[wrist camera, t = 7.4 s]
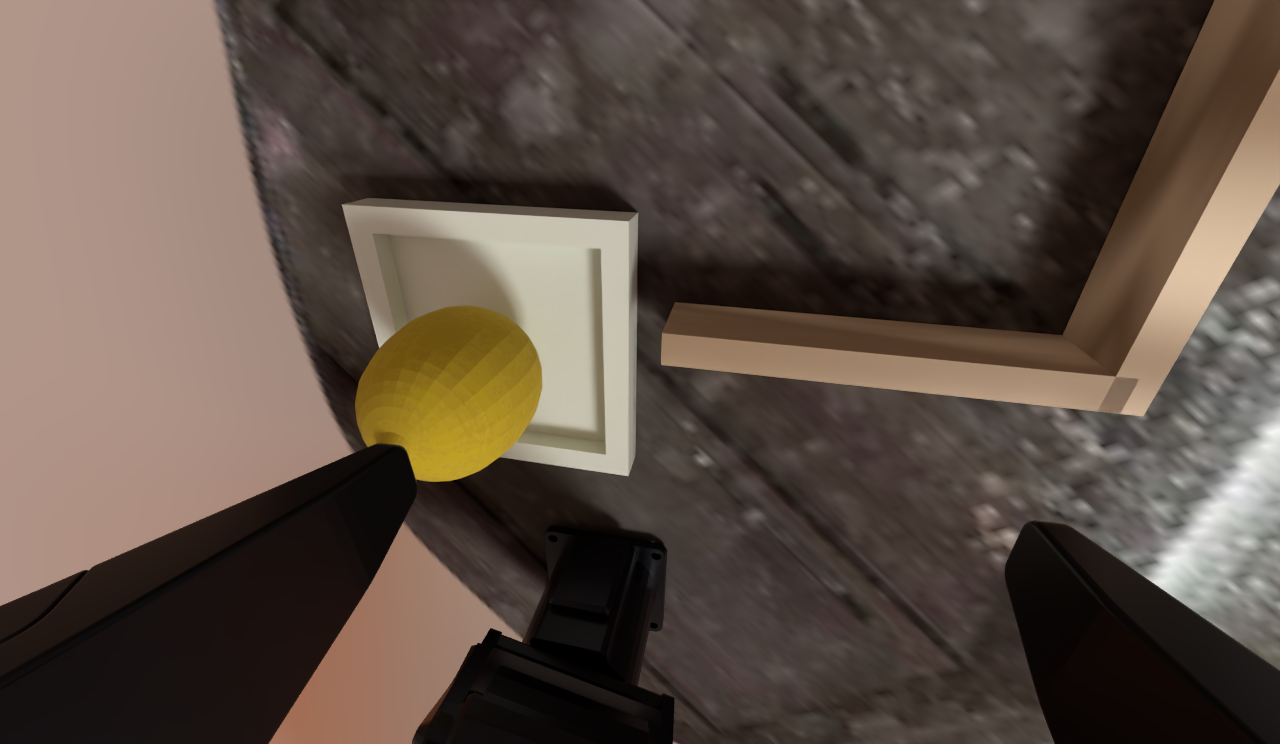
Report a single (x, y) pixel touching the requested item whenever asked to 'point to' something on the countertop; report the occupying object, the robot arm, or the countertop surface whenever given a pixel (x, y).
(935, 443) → the countertop surface
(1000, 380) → the u-shaped wooden frame
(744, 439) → the countertop surface
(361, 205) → the dish
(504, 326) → the lemon
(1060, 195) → the countertop surface
